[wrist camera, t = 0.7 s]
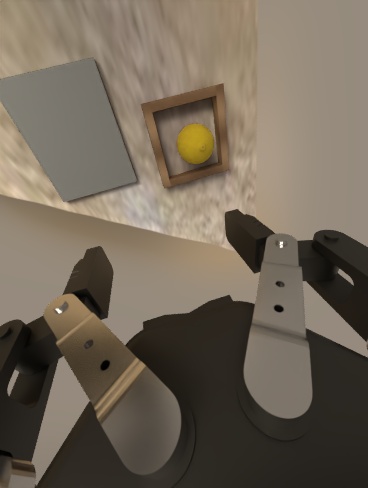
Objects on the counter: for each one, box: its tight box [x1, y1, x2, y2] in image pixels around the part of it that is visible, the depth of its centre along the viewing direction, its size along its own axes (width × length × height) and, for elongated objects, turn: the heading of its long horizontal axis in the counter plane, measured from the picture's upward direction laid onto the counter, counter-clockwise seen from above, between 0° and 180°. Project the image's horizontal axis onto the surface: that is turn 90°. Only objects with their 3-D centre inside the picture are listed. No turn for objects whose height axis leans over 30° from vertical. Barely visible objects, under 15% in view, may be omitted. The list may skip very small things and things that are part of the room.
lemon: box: [177, 123, 214, 164], centre depth 29 cm, size 6×6×8 cm
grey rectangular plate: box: [0, 58, 137, 202], centre depth 28 cm, size 16×13×1 cm
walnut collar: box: [141, 84, 229, 188], centre depth 31 cm, size 12×12×2 cm
